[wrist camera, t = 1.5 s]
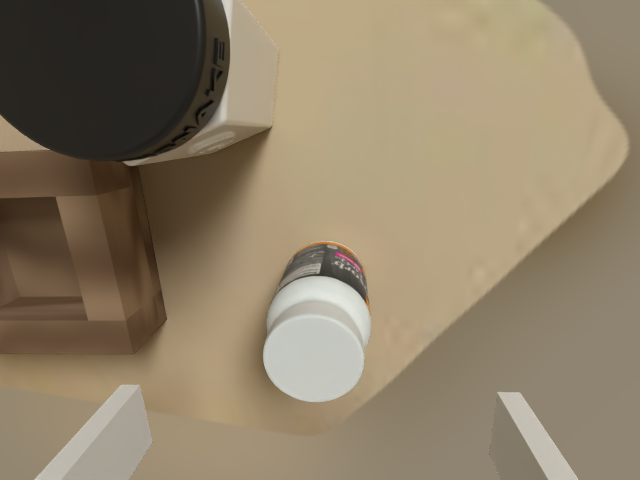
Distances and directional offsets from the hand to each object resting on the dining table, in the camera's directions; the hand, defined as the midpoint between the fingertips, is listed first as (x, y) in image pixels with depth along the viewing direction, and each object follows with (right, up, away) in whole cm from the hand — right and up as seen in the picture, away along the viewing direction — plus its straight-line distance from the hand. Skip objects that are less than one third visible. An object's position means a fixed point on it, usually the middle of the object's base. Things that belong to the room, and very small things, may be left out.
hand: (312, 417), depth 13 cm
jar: (-6, +17, +9) cm, 20 cm away
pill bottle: (+1, +4, +12) cm, 13 cm away
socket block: (-18, +7, +13) cm, 23 cm away
